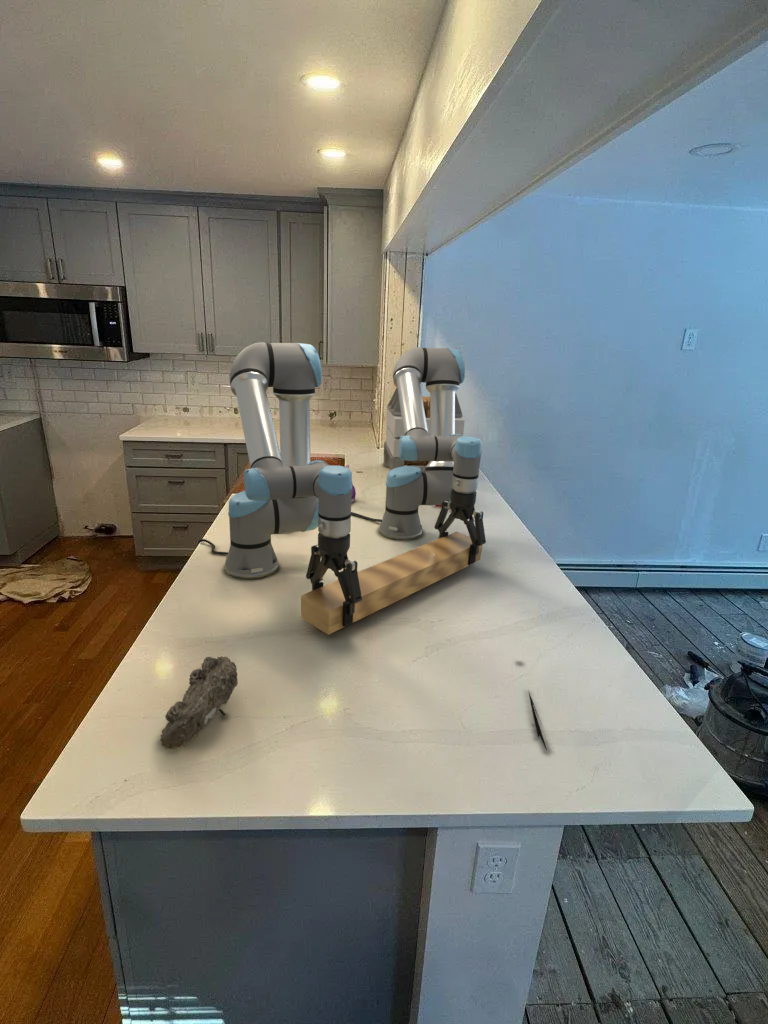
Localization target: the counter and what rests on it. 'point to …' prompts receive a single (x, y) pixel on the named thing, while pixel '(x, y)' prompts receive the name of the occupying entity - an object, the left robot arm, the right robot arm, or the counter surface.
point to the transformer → (396, 431)
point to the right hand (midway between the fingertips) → (457, 557)
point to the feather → (536, 721)
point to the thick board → (389, 581)
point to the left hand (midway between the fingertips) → (332, 615)
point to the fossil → (200, 701)
